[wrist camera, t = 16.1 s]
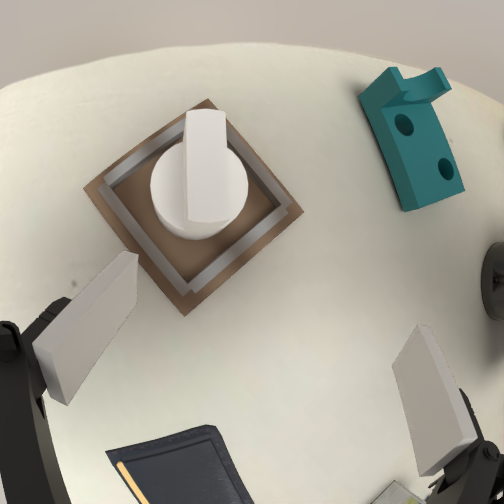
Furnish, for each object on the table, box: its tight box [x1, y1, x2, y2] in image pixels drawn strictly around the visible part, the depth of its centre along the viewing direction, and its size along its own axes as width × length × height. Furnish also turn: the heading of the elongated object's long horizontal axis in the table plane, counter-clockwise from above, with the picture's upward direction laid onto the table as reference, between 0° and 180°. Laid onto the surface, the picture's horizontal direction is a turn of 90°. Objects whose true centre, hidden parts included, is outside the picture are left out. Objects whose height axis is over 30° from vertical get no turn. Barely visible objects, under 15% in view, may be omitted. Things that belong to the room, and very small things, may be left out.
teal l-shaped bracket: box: [359, 67, 465, 212], centre depth 38 cm, size 18×11×10 cm, turn 19°
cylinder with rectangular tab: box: [150, 109, 248, 240], centre depth 28 cm, size 9×9×12 cm
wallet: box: [105, 425, 254, 504], centre depth 32 cm, size 20×2×15 cm
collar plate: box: [83, 99, 304, 317], centre depth 33 cm, size 18×18×3 cm
